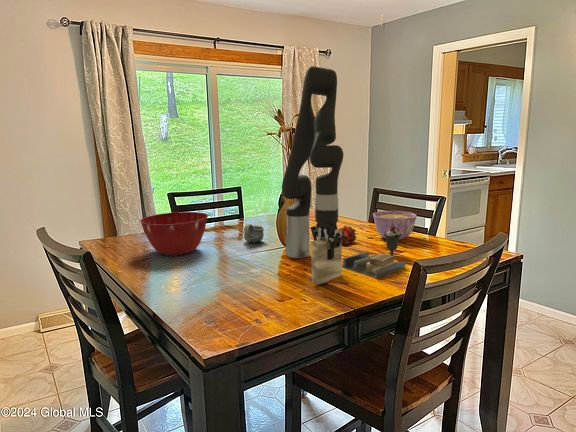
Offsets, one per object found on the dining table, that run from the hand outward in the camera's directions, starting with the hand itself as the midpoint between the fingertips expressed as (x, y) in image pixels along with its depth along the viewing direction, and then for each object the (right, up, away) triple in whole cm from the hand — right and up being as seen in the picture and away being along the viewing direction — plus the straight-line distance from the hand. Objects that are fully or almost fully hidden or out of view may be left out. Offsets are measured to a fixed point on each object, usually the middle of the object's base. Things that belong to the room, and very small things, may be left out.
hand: (326, 258), depth 140 cm
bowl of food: (+37, +3, +59) cm, 70 cm away
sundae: (+28, -3, +27) cm, 39 cm away
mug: (-29, +1, +56) cm, 63 cm away
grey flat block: (+20, -5, +9) cm, 23 cm away
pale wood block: (0, -7, +2) cm, 8 cm away
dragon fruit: (+14, +1, +52) cm, 54 cm away
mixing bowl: (-62, -2, +44) cm, 76 cm away
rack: (+18, -6, +12) cm, 22 cm away
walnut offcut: (+20, -2, +8) cm, 22 cm away
